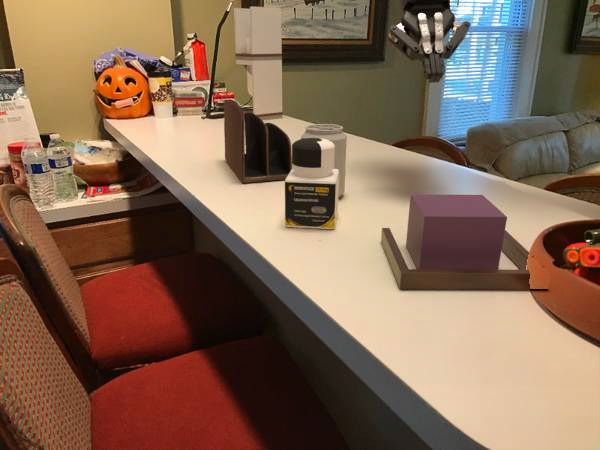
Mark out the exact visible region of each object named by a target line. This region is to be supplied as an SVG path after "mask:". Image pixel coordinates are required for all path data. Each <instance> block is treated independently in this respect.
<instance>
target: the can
mask: <svg viewBox="0 0 600 450" xmlns="http://www.w3.org/2000/svg"><path fill="white" fill-rule="evenodd" d="M304 128H305V131H304V132H303V133H302V135H301V136H300V139H304V138H322V139H327V140H329V141H331V142H333V144H334V145H335V155H334V169H338V170H339V191H338V199H339V198H340V197H341V196H342V195H343V194H345V191H346V167H347V166H346V165H347V164H346V163H347V141H348V140H347V137H348V136H347V135H346V134H345V133H344V131H343V129H344V126H342V125H339V124H334V123H313V124H307V125H305V127H304Z"/></svg>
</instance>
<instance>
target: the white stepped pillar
mask: <svg viewBox="0 0 600 450" xmlns="http://www.w3.org/2000/svg"><path fill="white" fill-rule="evenodd" d="M233 23H234V25H233V26H234V49H235V64H236V65H243V66H244V65H245V66H246V76H247V77H246V85H247V93H248V95H250V96H251V97H252V109H249V110H243V113H244V115H245V113H248V112H251V113H254V114H255V115H257V116H258V117H259V118H260V119H261V120H262V121H269V120H276V119H283V51H282V50H283V48H282V47H283V45H282V44H283V42H282V41H283V40H282V37H283V36H282V7H271V6H270V7H269V6H249V8H244V7H243V8H241V7H233Z"/></svg>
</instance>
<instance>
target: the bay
mask: <svg viewBox="0 0 600 450" xmlns="http://www.w3.org/2000/svg"><path fill="white" fill-rule="evenodd" d="M381 242H382V243H381ZM380 243H381V245H382V247H383V250H384V253H385V255H386V258H387V260H388V263H389V265H390V268H391V271H392V273H393V276H394V279H395V281H396V284H397V286H398V289H399V290H431V291H432V290H437V291H440V290H443V291H444V290H446V291H447V290H448V291H450V290H451V291H452V290H453V291H455V290H456V291H457V290H459V291H460V290H461V291H463V290H465V291H466V290H467V291H468V290H470V291H471V290H472V291H473V290H474V291H475V290H476V291H478V290H479V291H481V290H482V291H531V290H530V284H529V279H530V272H529V270H526V265H527V259H528V255H529V253H530V252H529V250H527V248H526V247H524V246H523V245H522V244H521V243H520V242H519V241H518V240H517V239H516V238H514V237H513V236H512V234H510V233H509V232H508V231H507V230H506V229H505V233H504V238H503V244H502V250H501V252H503V253H504V254H505V255H506V256H507V258H509V259H510V260H511V262H512V263H513V264H514V265H515V266H516V267H517V268H518V269H498V270H489V269H417V268H409V267H408V265H407V263H406V260H405V259H404V256H403V254H402V252H401V250H400V247H399V245H398V243H397V241H396V239H395V237H394V234H393V232H392V230H391V228H390V227H381V235H380Z"/></svg>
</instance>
